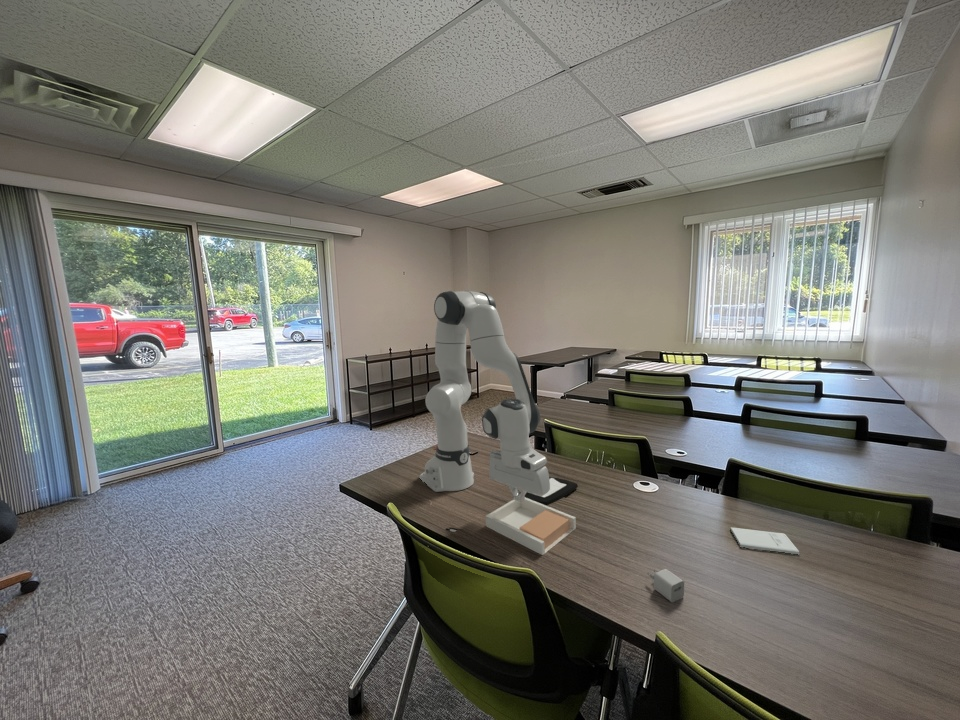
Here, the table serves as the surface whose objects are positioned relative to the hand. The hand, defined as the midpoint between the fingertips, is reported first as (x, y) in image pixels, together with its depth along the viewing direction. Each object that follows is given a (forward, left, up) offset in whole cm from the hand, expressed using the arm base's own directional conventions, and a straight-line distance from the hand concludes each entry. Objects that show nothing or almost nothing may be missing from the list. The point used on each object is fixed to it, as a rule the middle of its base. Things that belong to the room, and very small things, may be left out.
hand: (519, 500), depth 110 cm
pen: (-6, -13, -8) cm, 16 cm away
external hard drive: (+53, +34, -8) cm, 64 cm away
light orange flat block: (+9, 0, -6) cm, 11 cm away
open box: (+4, 0, -7) cm, 8 cm away
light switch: (-5, +22, -8) cm, 24 cm away
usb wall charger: (+40, 0, -8) cm, 41 cm away
